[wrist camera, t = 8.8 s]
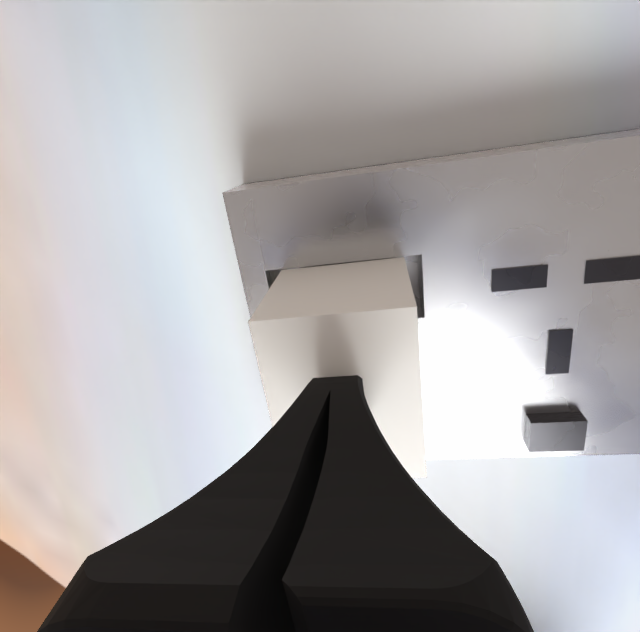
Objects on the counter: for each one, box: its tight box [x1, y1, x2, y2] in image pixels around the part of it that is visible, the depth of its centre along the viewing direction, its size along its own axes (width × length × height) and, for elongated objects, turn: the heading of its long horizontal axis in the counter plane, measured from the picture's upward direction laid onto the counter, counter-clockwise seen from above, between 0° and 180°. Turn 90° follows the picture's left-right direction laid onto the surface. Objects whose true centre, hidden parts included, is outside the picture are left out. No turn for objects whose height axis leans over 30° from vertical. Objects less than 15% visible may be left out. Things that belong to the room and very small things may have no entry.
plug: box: [248, 257, 427, 478], centre depth 15 cm, size 4×6×6 cm
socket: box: [223, 129, 640, 460], centre depth 16 cm, size 15×12×3 cm
